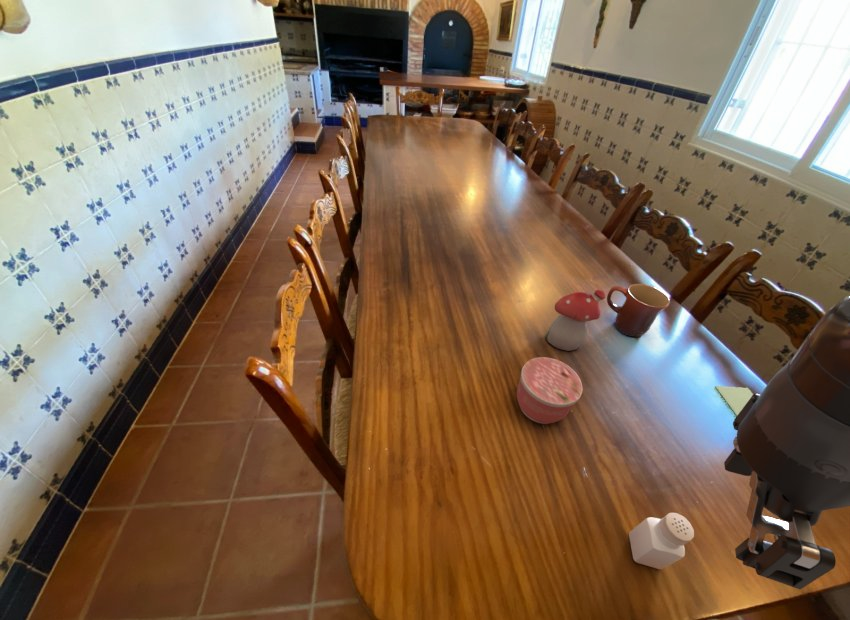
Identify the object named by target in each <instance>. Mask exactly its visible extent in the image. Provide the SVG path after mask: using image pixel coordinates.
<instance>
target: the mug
mask: <svg viewBox="0 0 850 620" xmlns="http://www.w3.org/2000/svg"><path fill="white" fill-rule="evenodd" d="M615 291H617V292H620V293H621V294H622V295H623V296H624V297H625V300H624V302H623V304H622V305H620V306H619V305H617V304H615V303H614V302H613V300H612V298H613V297H612V296H613V293H615ZM606 303H607V305H608V307H609V308H610V309H611V310H612V311H613V312H614V313H616V316H615V319H614V325H615V327H616V328H617V330H619V332H621V333H622V334H624V335H627V336H629V337H632V338H633V337H636V338H638V337H643V336H645V334H647V333H648V331H649V330H650V329H651V327H652V325H653V324H654V322H655V321H656V319H657V317H658V315H659V314H660V313H662V311H664V310H665V309H666V308H667V307H669V305H670V304H671V300H670V298H669V296H668V295H667V294H666V293H665V292H663V291H662V290H660V289H659V288H658V287H654V286H652V285H649V284H644V283H633V284H630V285H629V286H628V287H624V286H621V285H615V286H612V287H610V289H609V291H608V292H607V295H606Z"/></svg>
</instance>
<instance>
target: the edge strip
mask: <svg viewBox="0 0 850 620" xmlns="http://www.w3.org/2000/svg"><path fill="white" fill-rule="evenodd" d="M714 387H715V389H716V390H717V391H718V394H719V395H720V396H721V397H722V398H723V400H724V401H725V402H726V404H727V405H728V407H729V408H730V409H731V410H732V412H733V413H734V415H735V417H737V415H738V414H739V413H740V411H741V410H742V409H743V407H744V406H745V405H746V403H747V402H748V401H749V399H750V398H751V397H752V395H753V394H754V393H753V392H752V390H751V389H749V387H740V386H739V387H738V386H723V385H714Z"/></svg>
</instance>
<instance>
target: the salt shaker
mask: <svg viewBox="0 0 850 620" xmlns="http://www.w3.org/2000/svg"><path fill="white" fill-rule="evenodd" d="M628 537H629V543H630V549H631V554H632V559H633V562H635V563H637V564H640V565H644V566H647V567H651V568H653V569H657V570H661V571H662V570H664V569H666V568H668V567H669V566H671V565H673V564H674V563H677V562H678V561H680V560H682V559H683V558H685V555H686V549H685V545H686V544H688V543H689V542H691V541H692V539H694V538H695V530H694V527H693V526H692V524H691V522H690V521H689V520H688V519H687V518H686V517H685V516H683V515H682V514H680V513H677V512H669V513H667V514H666V515H665V516H664V517H662V518H659V517H654V516H653V517H652V516H650V517H649V516H648V517H645V519H643V520H642V521H641V522H640V523H639V524H637V525H636V526H635V527H633V528H632V529H631V530H630V531H629V533H628Z"/></svg>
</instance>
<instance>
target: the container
mask: <svg viewBox="0 0 850 620" xmlns="http://www.w3.org/2000/svg"><path fill="white" fill-rule="evenodd" d="M516 388H517V389H516V399H517V404H518V405H519V409H520V411H521V412H522V413H523V414H524V415H525V417H526V418H528V419H529V420H531V421H533V422H534V423H538V424H541V425H549V424H554V423H556V422H557V423H558V422H559V421H562V420H563V419H565V418H566V417H567V415H568V414H569V413H570V411H571V410H572V408H573V407H574V405H575V404H576V403H577V402H578V401H579V400H580V398H581V396H582V394H583V384H582V381H581V378H580V376H579V375H578V374H577V372H576V371H575V370H574V369H573V368H572V367H570V366H569V365H568V364H566V363H565V362H563V361H560V360H559V359H555V358H553V357H552V358H551V357H548V356H547V357H545V356H543V357H542V356H540V357H534V358H531V359H529V360H527V361H526V362H525V364H524V365H523V367H522V368H521V372H520V378H519V381H518V385H517V387H516Z"/></svg>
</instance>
